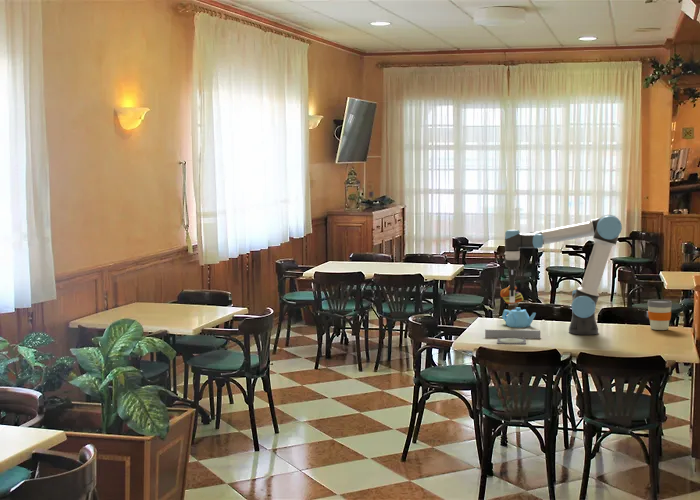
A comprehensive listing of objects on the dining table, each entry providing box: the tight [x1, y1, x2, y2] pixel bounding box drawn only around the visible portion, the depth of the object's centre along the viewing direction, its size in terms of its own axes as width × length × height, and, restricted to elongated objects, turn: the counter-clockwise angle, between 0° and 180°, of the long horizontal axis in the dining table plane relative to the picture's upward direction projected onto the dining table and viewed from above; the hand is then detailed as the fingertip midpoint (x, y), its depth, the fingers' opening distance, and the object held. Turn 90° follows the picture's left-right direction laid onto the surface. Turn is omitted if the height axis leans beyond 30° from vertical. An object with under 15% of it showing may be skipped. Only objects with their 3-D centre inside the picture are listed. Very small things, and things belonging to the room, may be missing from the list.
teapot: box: [501, 306, 537, 329], centre depth 463 cm, size 15×15×11 cm
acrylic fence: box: [484, 328, 541, 339], centre depth 429 cm, size 28×1×4 cm, turn 79°
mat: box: [496, 338, 527, 345], centre depth 418 cm, size 14×14×1 cm
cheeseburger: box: [499, 285, 524, 305], centre depth 437 cm, size 10×11×10 cm
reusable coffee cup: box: [646, 299, 673, 331], centre depth 448 cm, size 13×13×15 cm
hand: (512, 301), depth 437 cm, fingers closed on cheeseburger, 10 cm apart
